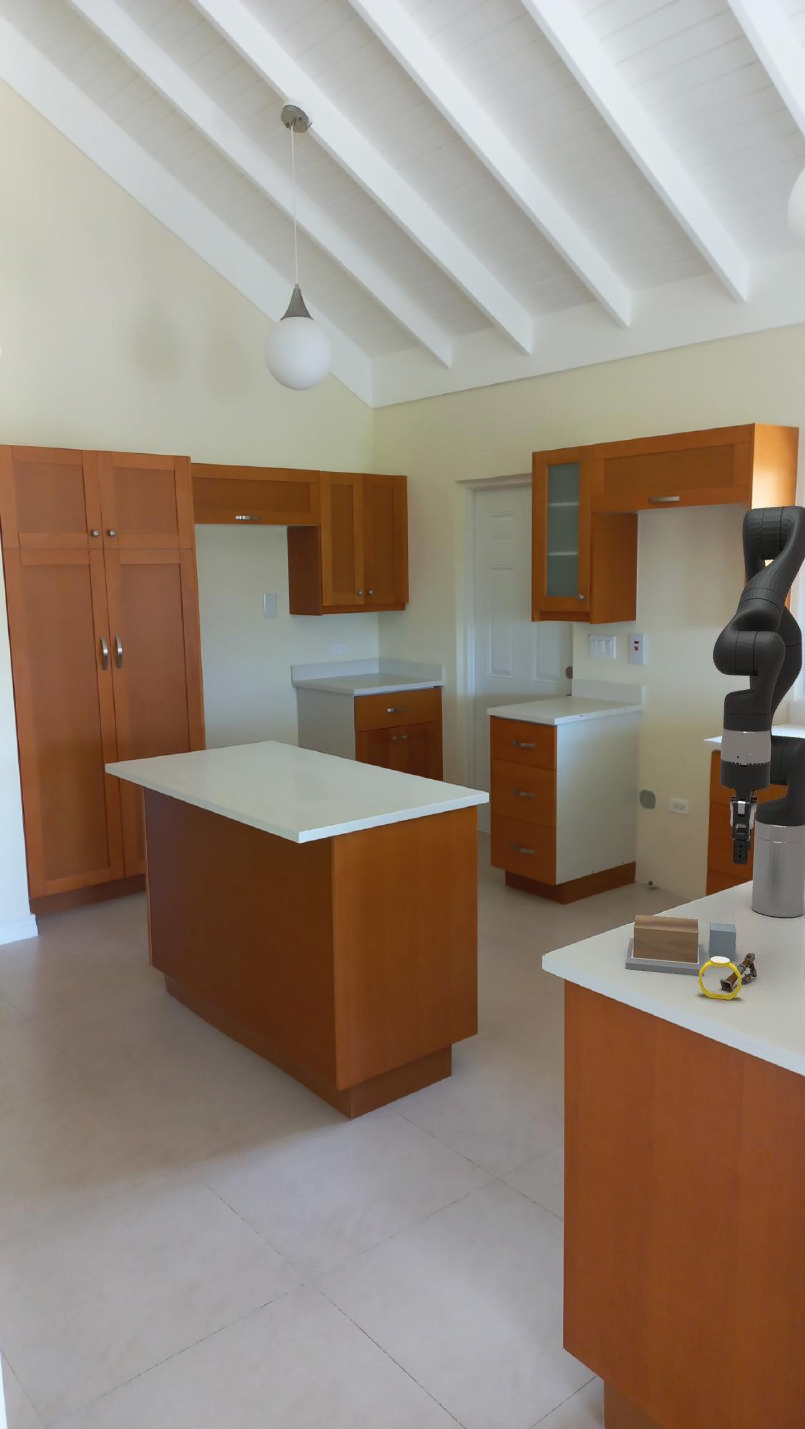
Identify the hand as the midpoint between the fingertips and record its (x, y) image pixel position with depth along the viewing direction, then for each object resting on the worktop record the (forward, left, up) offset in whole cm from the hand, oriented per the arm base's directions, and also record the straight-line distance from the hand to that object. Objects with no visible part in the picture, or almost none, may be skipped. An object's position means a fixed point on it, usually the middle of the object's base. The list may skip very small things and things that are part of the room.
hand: (741, 856), depth 161 cm
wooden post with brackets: (+10, 0, -18) cm, 21 cm away
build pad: (+2, -11, -18) cm, 21 cm away
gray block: (-2, -2, -18) cm, 18 cm away
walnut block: (+2, -11, -17) cm, 20 cm away
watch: (+16, -3, -18) cm, 24 cm away
